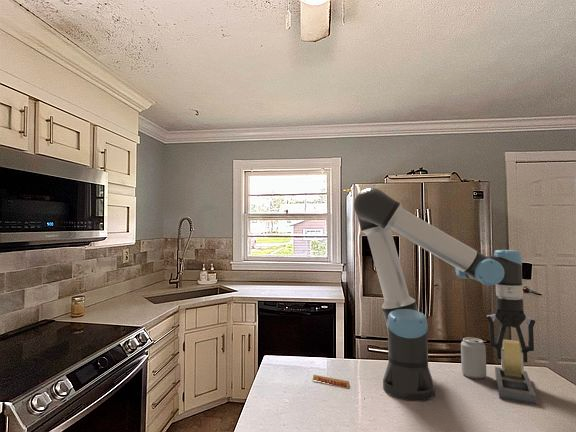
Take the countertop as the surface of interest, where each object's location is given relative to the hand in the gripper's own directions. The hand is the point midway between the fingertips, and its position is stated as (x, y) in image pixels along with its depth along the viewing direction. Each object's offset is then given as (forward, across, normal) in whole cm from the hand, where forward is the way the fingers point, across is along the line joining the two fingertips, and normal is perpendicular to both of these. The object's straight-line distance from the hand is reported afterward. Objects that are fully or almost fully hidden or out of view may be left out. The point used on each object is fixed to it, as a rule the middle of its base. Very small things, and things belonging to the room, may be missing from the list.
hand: (512, 370), depth 116 cm
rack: (+4, 0, -4) cm, 6 cm away
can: (+4, -11, +2) cm, 12 cm away
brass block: (+1, 0, 0) cm, 1 cm away
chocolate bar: (+4, -52, -27) cm, 59 cm away
